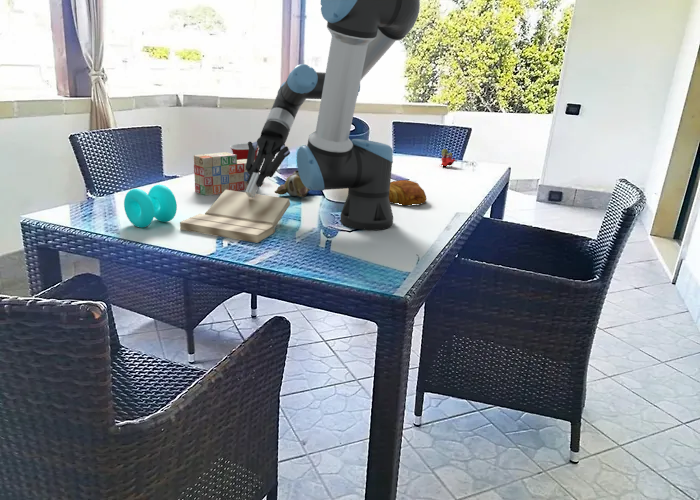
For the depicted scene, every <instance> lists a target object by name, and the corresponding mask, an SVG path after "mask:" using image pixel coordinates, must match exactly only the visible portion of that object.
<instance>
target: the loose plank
mask: <svg viewBox="0 0 700 500" xmlns="http://www.w3.org/2000/svg"><path fill="white" fill-rule="evenodd" d="M290 200H291V199H290V198H286V197H280V196H273V195H266V194H265V195H264V194H258V193H256V194H255V197H254V198H252V197H248V195H247V194H246V192H245V191H240V190H239V191H232V190H225V191H224V192H223V193H220V195H219V196H218V198H217V199H216V200H215V201H214V202H213V204H212V205H211V206H210V207H209V209H208V210H207V211H206V212H204V215H211V216H217V217H223V218H229V219H236V220H242V221H248V222H254V223H261V224H267V225H273V226H274V229H276V227H277V225H278V224H279V223H280V220H281V219H282V218H283V217H284V215H285V213H286V212H287V210H288V209H289V207H290V206H291V201H290Z"/></svg>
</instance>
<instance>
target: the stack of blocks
mask: <svg viewBox="0 0 700 500" xmlns="http://www.w3.org/2000/svg"><path fill="white" fill-rule="evenodd" d="M193 161H194V162H193V174H194V191H195V192H196V193H197V194H200V195H203V196H209V195H219V194H222V193H223V192H224V191H225V190H232V191H239V192H240V191H246V189H247V186H248V183H247V180H248V178H249V175H250V174H249V173H248V172H247V170H246V163H247V159H242V160H237V155H235V154H233V153H231V152H228V151H224V152H222V151H221V152H214V153H213V152H212V153H203V154H201V153H200V154H194V155H193ZM254 161H255V160H254ZM259 188H260V187H258V189H259Z"/></svg>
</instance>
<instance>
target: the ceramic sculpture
mask: <svg viewBox="0 0 700 500" xmlns="http://www.w3.org/2000/svg"><path fill="white" fill-rule="evenodd" d="M310 191H311V190H310V189H308V188H306V187H305V186H304V184H303V183H302V181H301V179H300V176H299V172H298V169H297V170H295V171H293V172H292V174H290V175H289V176H287V178H286V179H285V182H284V184H280V185H279V186H278V187H277V189H276V190H274V193H275V194H278V195H282V196H284V195H286V194H288V195H289V196H292V197H300V198H305V197H306V196H307V194H308V193H309V192H310Z"/></svg>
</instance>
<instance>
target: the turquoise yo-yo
mask: <svg viewBox="0 0 700 500" xmlns="http://www.w3.org/2000/svg"><path fill="white" fill-rule="evenodd" d="M177 203H178V202H177V200H176V196H175V194H174V193H173V191H172V190H171V189H170V188H169V187H168V186H166V185H163V184H156V185H153V186H152V187H151V188H150V190H149V191H148V193H147V192H146V191H145V190H142V189H140V188H132V189H130V190H128V192H126V194H125V196H124V200H123V207H124V211H125V215H126V218H127V219H128V220H129V222H130V223H131V224H132V225H133V226H135V227H137V228H141V229H143V228H146V227H148V226H150V225H151V223H152V222H153V220H154V218H155V220H157V221H159V222H162V223H168V222H171V221H172V220H173V219H174V218H175V216H176V214H177V210H178V208H177V207H178V205H177Z"/></svg>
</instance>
